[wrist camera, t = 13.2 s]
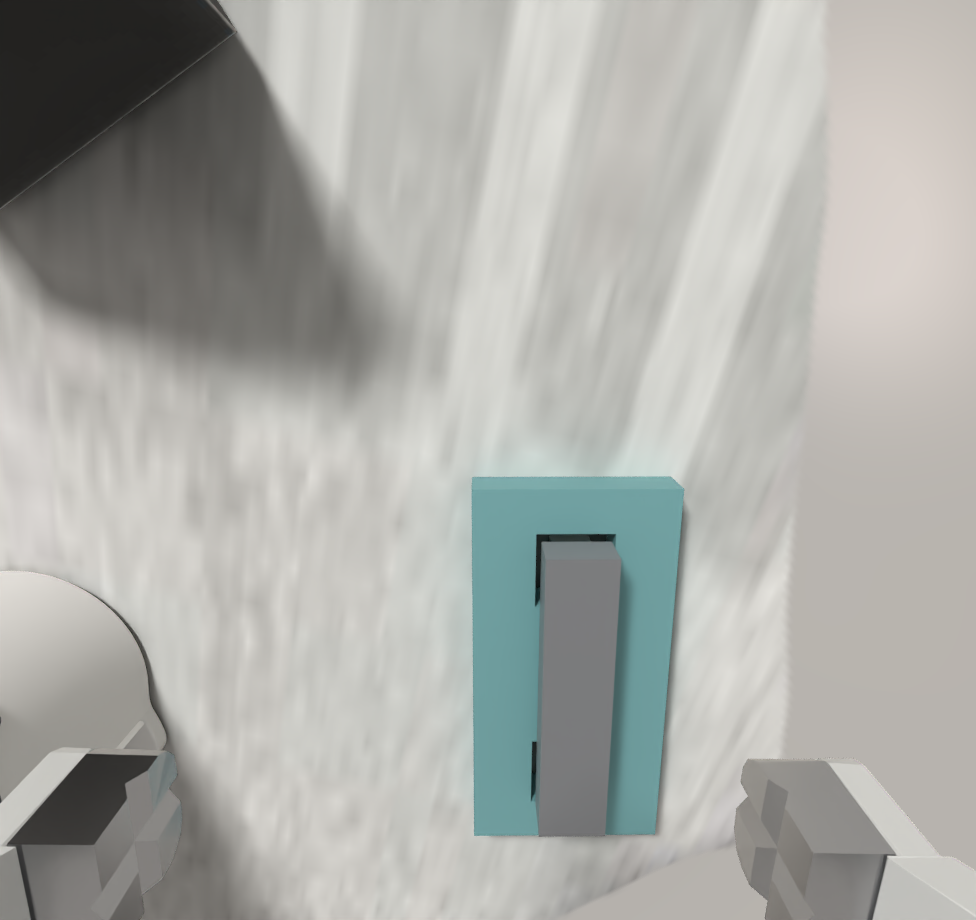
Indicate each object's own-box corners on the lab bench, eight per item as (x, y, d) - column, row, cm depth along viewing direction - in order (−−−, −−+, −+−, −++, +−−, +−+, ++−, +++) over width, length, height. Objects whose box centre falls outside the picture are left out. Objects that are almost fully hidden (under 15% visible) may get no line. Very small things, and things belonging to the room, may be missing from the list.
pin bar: (589, 768, 42) (605, 836, 36) (531, 768, 42) (538, 836, 36) (601, 523, 37) (621, 559, 32) (536, 523, 37) (545, 559, 32)
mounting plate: (645, 804, 42) (654, 834, 40) (474, 805, 42) (474, 835, 40) (670, 476, 36) (684, 489, 34) (472, 477, 36) (471, 489, 34)
